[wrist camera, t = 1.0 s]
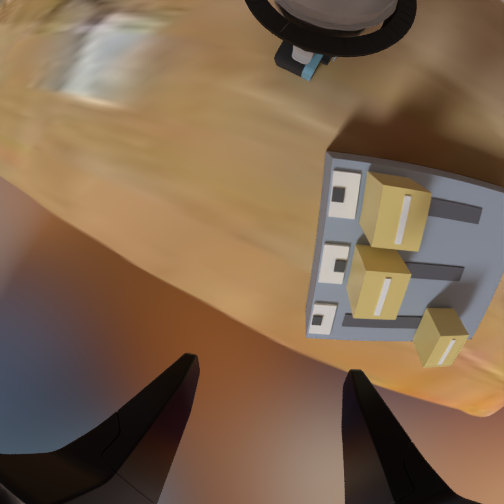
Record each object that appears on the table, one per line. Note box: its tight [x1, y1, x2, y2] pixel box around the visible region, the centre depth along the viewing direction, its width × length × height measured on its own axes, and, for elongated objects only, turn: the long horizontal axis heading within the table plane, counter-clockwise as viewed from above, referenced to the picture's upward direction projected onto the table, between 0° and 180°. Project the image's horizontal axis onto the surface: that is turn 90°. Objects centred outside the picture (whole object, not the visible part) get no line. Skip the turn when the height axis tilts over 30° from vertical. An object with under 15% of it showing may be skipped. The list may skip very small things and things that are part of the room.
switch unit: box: [306, 151, 504, 341], centre depth 16 cm, size 14×12×3 cm
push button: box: [245, 0, 417, 81], centre depth 8 cm, size 7×5×10 cm
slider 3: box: [413, 308, 469, 368], centre depth 15 cm, size 2×3×3 cm
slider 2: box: [346, 244, 411, 320], centre depth 14 cm, size 2×3×3 cm
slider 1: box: [359, 171, 432, 252], centre depth 12 cm, size 2×3×3 cm
